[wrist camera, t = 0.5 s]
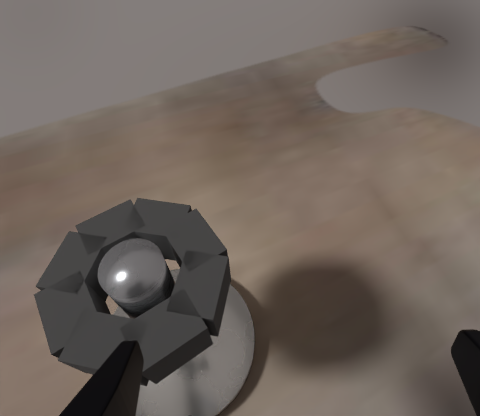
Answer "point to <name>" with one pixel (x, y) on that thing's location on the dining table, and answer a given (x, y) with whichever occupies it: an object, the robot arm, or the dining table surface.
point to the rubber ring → (152, 321)
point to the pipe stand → (200, 367)
